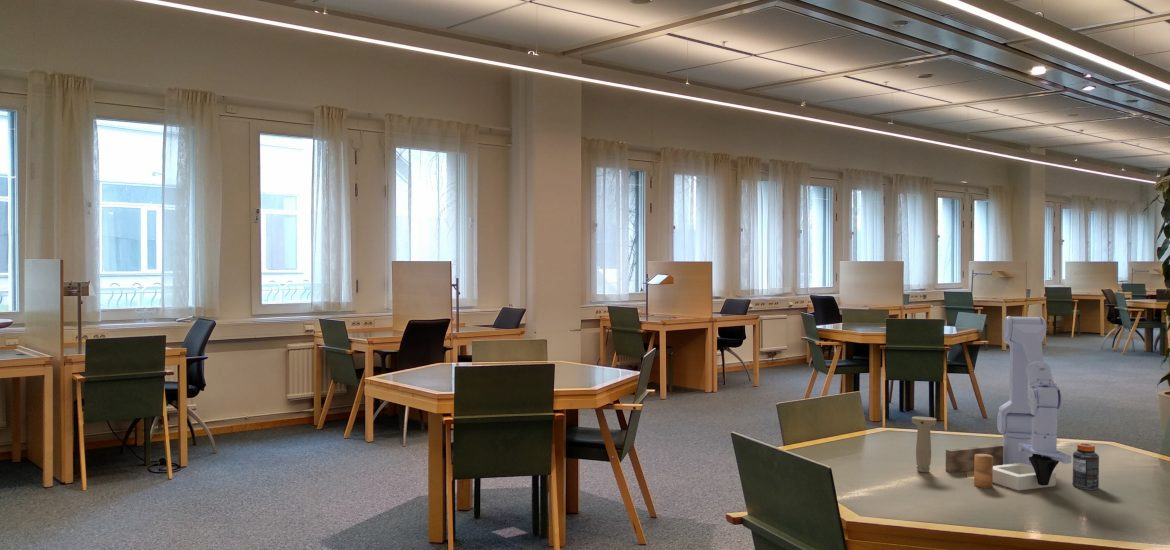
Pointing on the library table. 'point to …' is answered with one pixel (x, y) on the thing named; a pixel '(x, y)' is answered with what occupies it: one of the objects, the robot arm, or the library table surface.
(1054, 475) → the socket block
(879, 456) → the library table surface
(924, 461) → the handle
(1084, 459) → the pill bottle
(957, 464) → the wall
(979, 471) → the dowel
